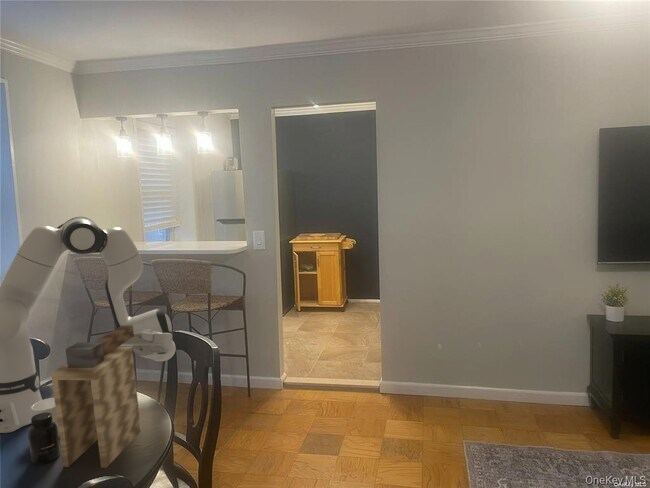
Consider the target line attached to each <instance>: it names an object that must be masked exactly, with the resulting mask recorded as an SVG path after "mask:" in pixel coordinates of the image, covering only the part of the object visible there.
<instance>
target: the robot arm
mask: <svg viewBox="0 0 650 488" xmlns="http://www.w3.org/2000/svg"><path fill="white" fill-rule="evenodd" d="M67 251H70V252H71V253H74V254H76V255H77V254H78V255H90V254H96V253H97V254H98V253H99V254H100V256H101V257H102V259H103V262H104V263H105V265H106V268H107V272H108V278H107V279H106V281H105V283H104V284H105V292H106V296H107V297H106V298H107V300H108V301H107V302H108V304H109V308H110V312H111V315H112V318H113V322H114V325H115V329H117V328H119V327H120V326H122V325H133V332H134V337H132V338H131V339H129V340H128V341H126V342H125V343H123V344H122V345H120V346H119V347H132V351H133V352H134V353H135V354H136V355H137V356H139V357H143V358H145V359H149V360H152V361H155V362H166V361H168V360H170V359H171V358H172V357H173V356H174V355H175V353H176V349H177V348H176V344H175V342H174V341H173V332H174V331H173V330H174V327H173V326H174V325H173V321H172V318H171V317H170V315H169V313H167V312H166V311H164V310H163V309H161V308H155V309H153V310H149V311H146V312H144V313H141V314H138V315H135V316H130V315H129V314H128V310H127V306H126V303H125V300H124V293H125V291H126V290H127V289H128V288H129V287H130V286H132V285H133V284H134V283H136V281H137V280H138V279H140V277H141V275H142V274H143V271H144V263H143V260H142V257H141V254H140V252H139V250H138V248H137V246H136V244H135V243H134V241H133V239H132V238H131V237H130V235H129V234H128V232H127V231H126V230H125V229H124V228H122V227H118V226H117V227H116V226H115V227H114V226H113V227H109V228H107V229H102V228H100V227H99V226H98V225H97V223H95V222H94V221H93V220H92V219H90V218H88V217H86V216H85V217H84V216H76V217H73V218H71V219H68V220H66V221H65V222H64V223H62V224H61V225H59V226H57V227H53V226H49V225H39V226H38V225H37V226H36V227H34V228H33V229H32V230H31V231H30V232H29V234H28V235H27V236H26V238H25V239H24V241H23V242H22V244H21V245H20V246H19V249H18V250H17V252H16V254H15V256H14V257H13V259H12V262H11V264H10V266H9V267H8V269H7V271H6V273H5V275H4V278H3V280H2V282H1V284H0V434H9V433H12V432H15V431H16V430H19V429H20V428H22V427H25V426H28V425H30V424H31V418H32V417H33V415H32V410H31V407H32V405H33V404H35V403H37V402H39V401H41V400H43V398H42V395H41V391H40V377H39V374H38V370H37V369H36V364H35V355H34V349H33V345H32V342H31V338H30V334H29V329H28V319H29V317H30V316H31V313H32V311H33V309H34V307H35V306H36V303H37V302H38V301H39V297H40V296H41V294H42V292H43V290H44V288H45V286H46V284H47V282H48V281H49V279H50V277H51V275H52V272H53V271H54V270H55V266H56V265H57V263H58V260H59V258H60V257H61V256H62V254H64V252H67ZM109 333H110V332H107V333H106V334H105V335H107V334H109Z"/></svg>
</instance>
